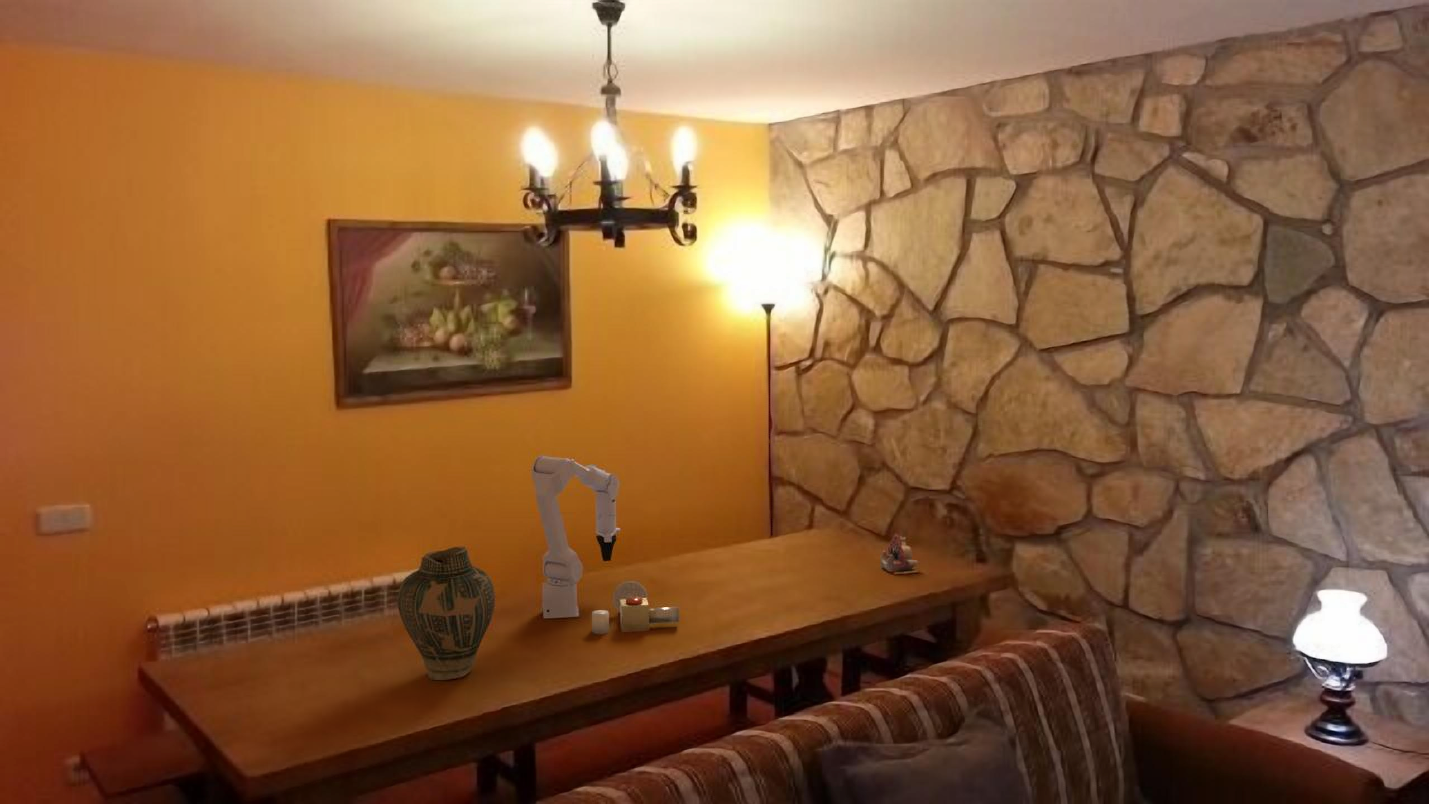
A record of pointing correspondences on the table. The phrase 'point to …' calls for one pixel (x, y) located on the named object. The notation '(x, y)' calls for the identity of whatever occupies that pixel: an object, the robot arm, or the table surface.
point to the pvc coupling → (600, 621)
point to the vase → (447, 611)
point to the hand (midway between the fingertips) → (606, 560)
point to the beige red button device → (643, 614)
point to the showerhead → (628, 592)
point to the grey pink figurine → (898, 557)
